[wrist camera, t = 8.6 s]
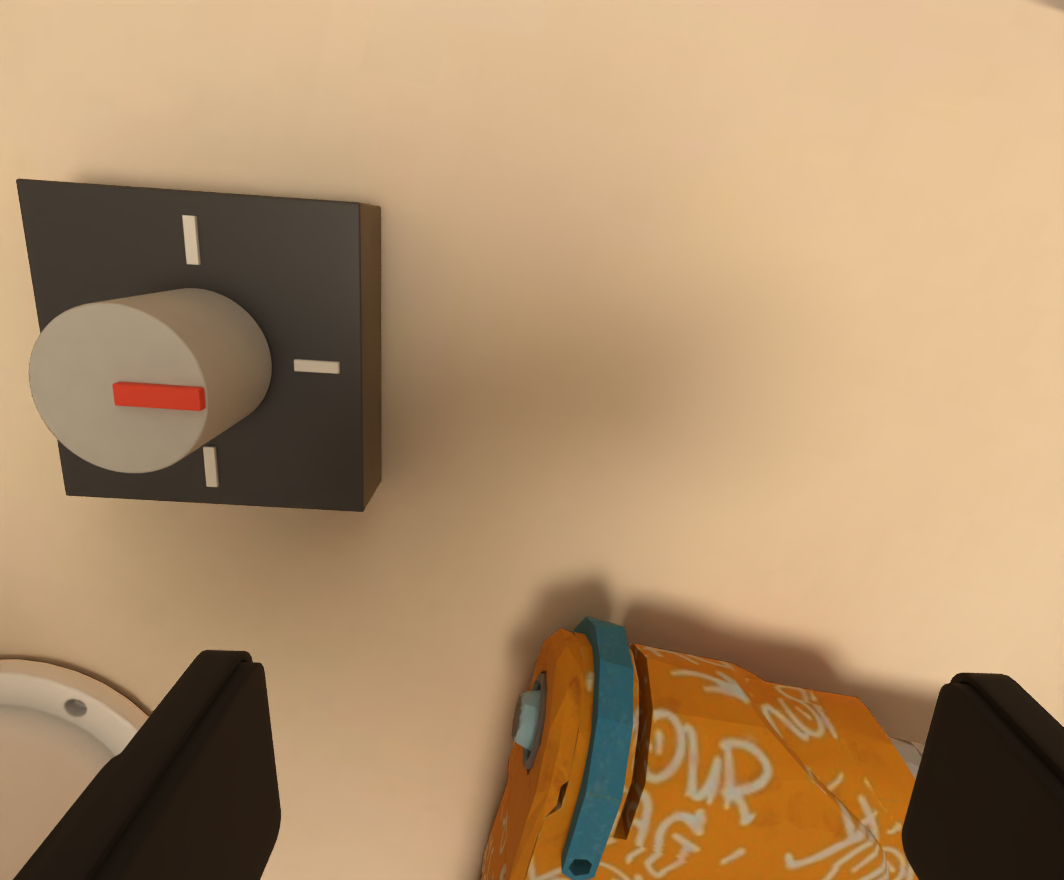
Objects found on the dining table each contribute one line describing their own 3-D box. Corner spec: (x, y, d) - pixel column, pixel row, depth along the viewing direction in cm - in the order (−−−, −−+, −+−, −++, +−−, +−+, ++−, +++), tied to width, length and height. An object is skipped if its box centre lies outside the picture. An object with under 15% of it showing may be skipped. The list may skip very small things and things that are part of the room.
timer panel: (118, 465, 25) (62, 497, 22) (80, 185, 22) (10, 178, 19) (381, 480, 25) (362, 514, 22) (380, 206, 22) (358, 202, 19)
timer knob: (139, 421, 21) (33, 472, 17) (123, 282, 20) (4, 297, 15) (275, 430, 21) (208, 483, 17) (269, 293, 20) (194, 310, 16)
